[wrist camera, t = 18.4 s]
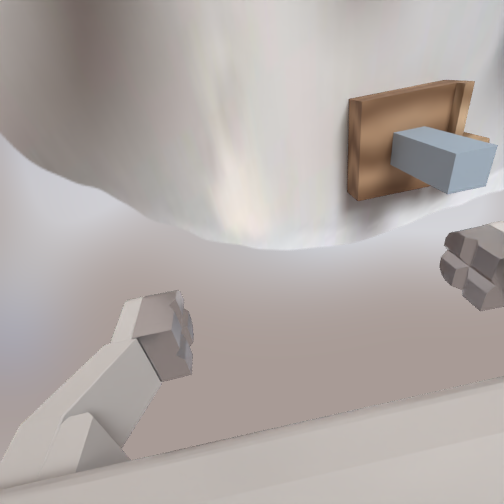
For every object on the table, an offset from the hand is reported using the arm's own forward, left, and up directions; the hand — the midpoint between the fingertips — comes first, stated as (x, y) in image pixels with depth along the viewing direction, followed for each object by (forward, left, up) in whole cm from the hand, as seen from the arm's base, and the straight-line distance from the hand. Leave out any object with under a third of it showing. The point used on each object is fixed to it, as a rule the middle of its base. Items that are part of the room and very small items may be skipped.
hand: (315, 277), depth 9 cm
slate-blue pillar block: (+8, +24, -33) cm, 42 cm away
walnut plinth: (+8, +24, -37) cm, 45 cm away
